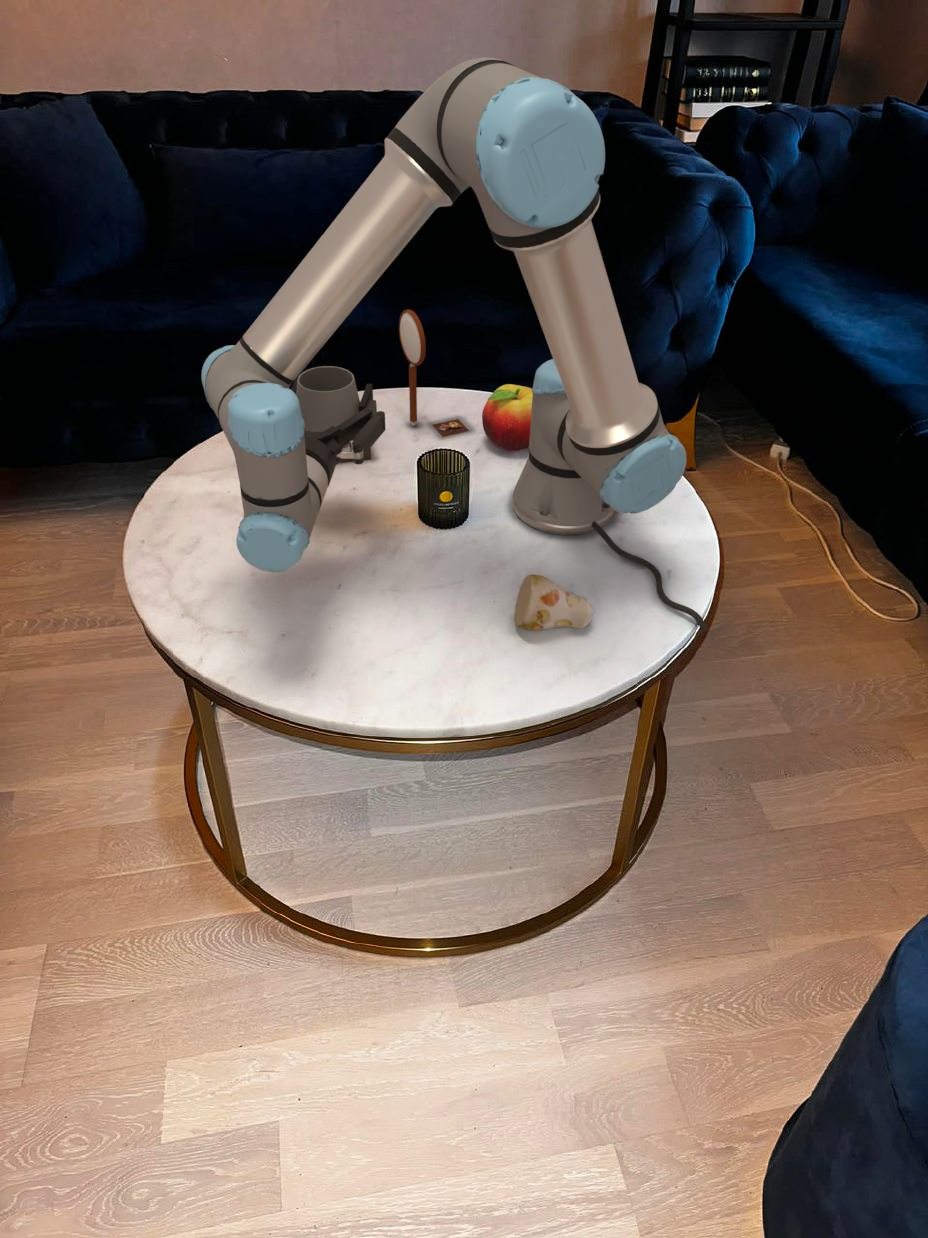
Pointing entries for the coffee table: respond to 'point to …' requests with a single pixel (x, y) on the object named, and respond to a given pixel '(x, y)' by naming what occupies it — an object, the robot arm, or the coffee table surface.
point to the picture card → (450, 427)
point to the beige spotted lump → (549, 606)
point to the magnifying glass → (412, 353)
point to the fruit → (509, 417)
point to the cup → (327, 397)
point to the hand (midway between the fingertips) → (334, 390)
